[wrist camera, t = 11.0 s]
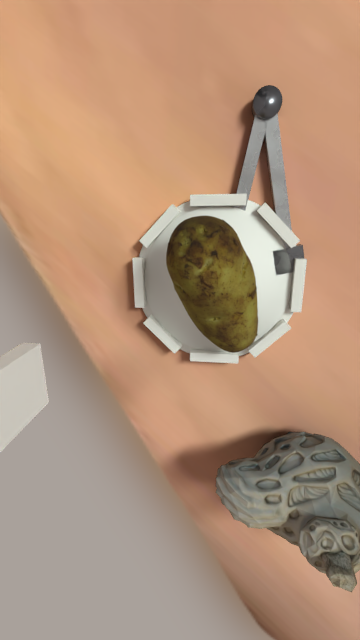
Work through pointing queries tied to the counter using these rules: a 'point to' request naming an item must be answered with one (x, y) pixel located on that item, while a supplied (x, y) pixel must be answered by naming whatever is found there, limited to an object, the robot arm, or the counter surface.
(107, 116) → the counter surface
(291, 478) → the teapot
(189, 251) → the potato
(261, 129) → the open tongs prop
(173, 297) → the plate
